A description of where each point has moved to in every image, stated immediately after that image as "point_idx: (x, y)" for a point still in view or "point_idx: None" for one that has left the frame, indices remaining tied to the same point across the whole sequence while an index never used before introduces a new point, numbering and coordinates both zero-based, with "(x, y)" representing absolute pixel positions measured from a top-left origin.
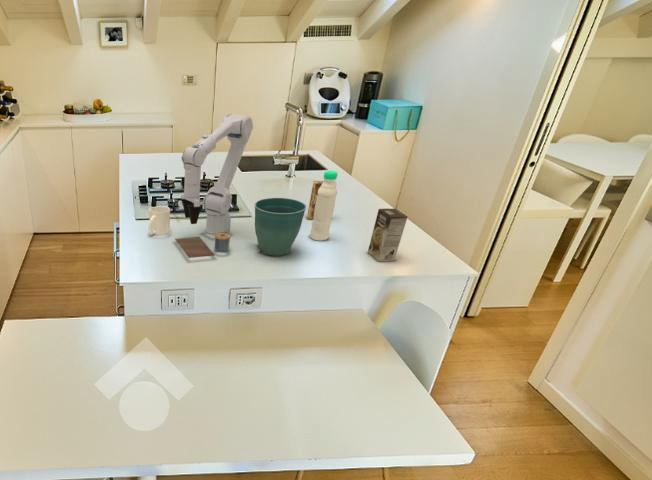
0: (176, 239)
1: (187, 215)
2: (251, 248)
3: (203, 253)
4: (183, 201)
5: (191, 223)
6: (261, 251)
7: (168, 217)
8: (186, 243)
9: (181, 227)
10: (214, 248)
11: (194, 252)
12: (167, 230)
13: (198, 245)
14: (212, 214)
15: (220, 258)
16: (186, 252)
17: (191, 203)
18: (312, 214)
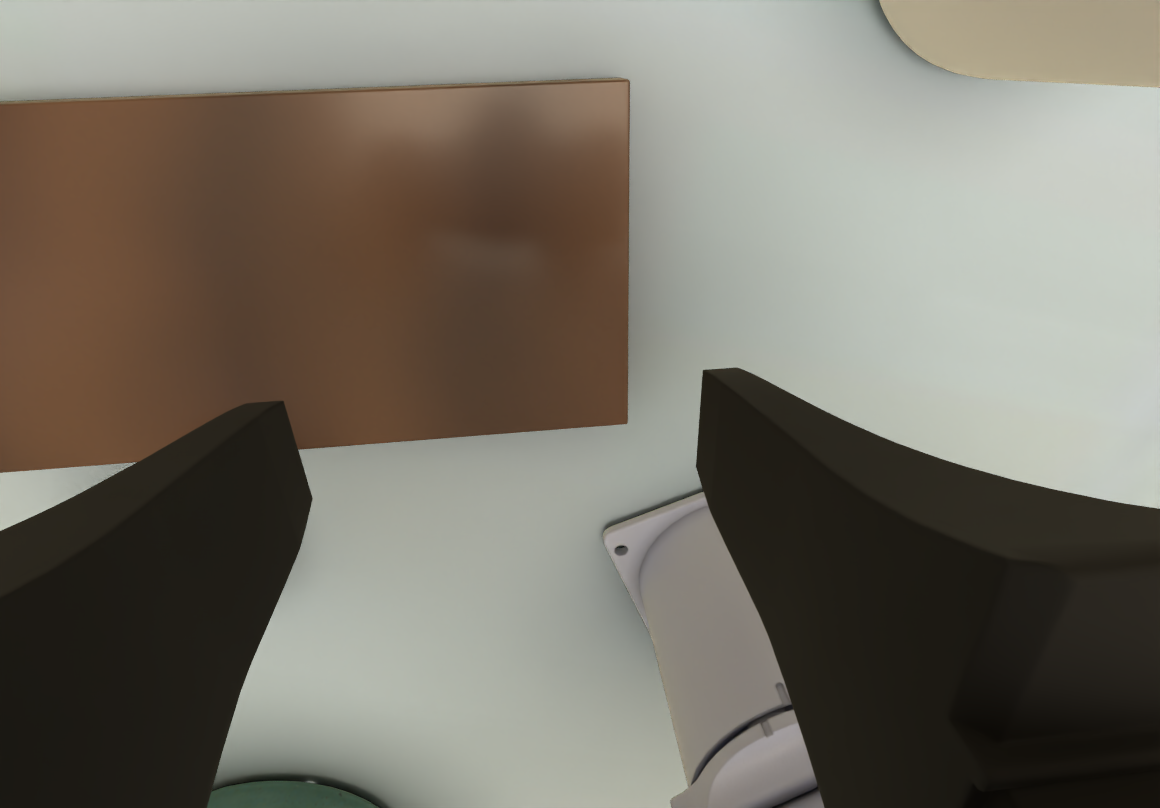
0: (595, 100)
1: (715, 426)
2: (336, 743)
3: (13, 361)
4: (947, 588)
5: (232, 413)
6: (215, 795)
7: (1121, 13)
8: (403, 217)
9: (1093, 294)
10: None
11: (30, 253)
12: (926, 3)
13: (315, 358)
14: (732, 751)
15: (48, 502)
16: (11, 132)
17: (828, 726)
18: None
